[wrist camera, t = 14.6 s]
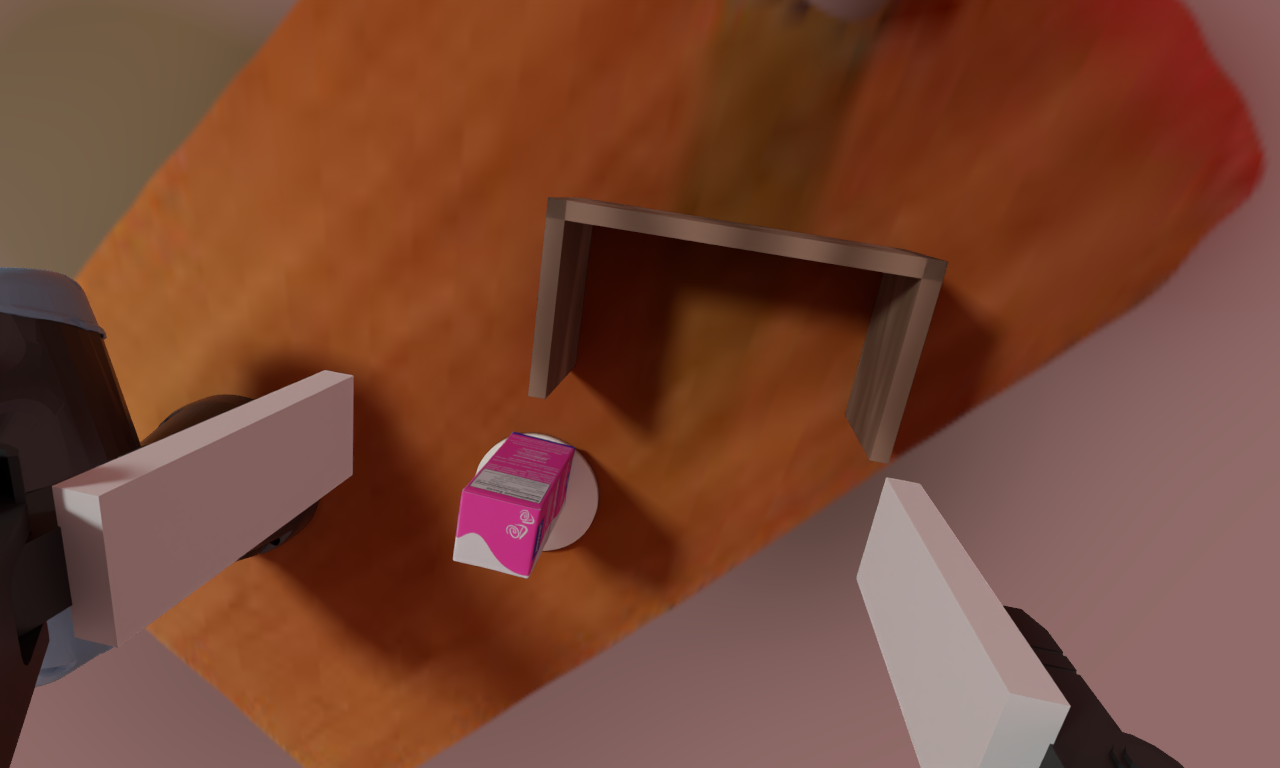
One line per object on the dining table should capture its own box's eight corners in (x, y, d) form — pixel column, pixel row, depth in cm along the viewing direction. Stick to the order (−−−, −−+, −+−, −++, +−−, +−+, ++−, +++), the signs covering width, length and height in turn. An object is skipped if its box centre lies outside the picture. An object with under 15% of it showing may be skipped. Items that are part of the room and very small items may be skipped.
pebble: (473, 532, 57) (470, 537, 56) (482, 421, 54) (478, 424, 53) (590, 556, 56) (588, 561, 55) (606, 445, 53) (604, 449, 52)
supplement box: (567, 505, 54) (527, 583, 43) (502, 489, 54) (446, 561, 44) (579, 445, 52) (540, 510, 41) (512, 428, 53) (456, 488, 42)
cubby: (561, 363, 51) (528, 395, 43) (580, 197, 47) (548, 197, 39) (860, 417, 49) (888, 463, 41) (906, 249, 45) (948, 261, 37)
